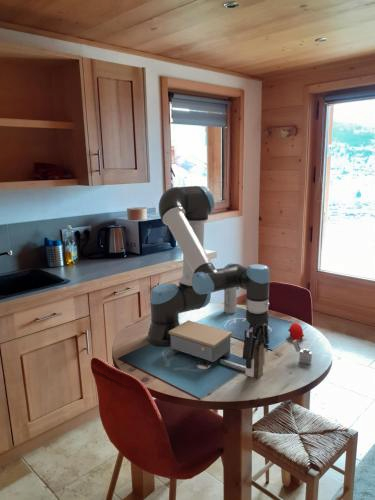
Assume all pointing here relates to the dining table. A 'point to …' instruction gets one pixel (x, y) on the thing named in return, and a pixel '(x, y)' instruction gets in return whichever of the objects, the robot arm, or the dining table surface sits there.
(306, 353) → the lighter
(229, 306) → the energy drink can
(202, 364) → the steel token
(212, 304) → the dining table surface
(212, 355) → the cabinet
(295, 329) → the red egg shape
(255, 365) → the blade tool
